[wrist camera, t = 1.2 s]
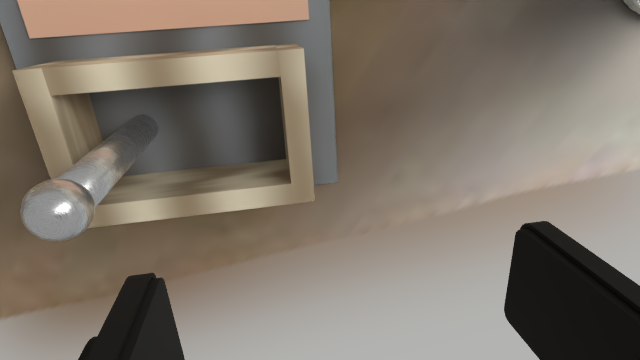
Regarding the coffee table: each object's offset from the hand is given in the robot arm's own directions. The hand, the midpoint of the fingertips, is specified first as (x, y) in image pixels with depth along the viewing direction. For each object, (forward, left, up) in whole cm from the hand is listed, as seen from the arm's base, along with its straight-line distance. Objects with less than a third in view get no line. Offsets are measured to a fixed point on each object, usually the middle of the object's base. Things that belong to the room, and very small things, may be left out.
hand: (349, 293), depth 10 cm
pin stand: (+7, -7, -22) cm, 24 cm away
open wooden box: (+7, 0, -21) cm, 22 cm away
